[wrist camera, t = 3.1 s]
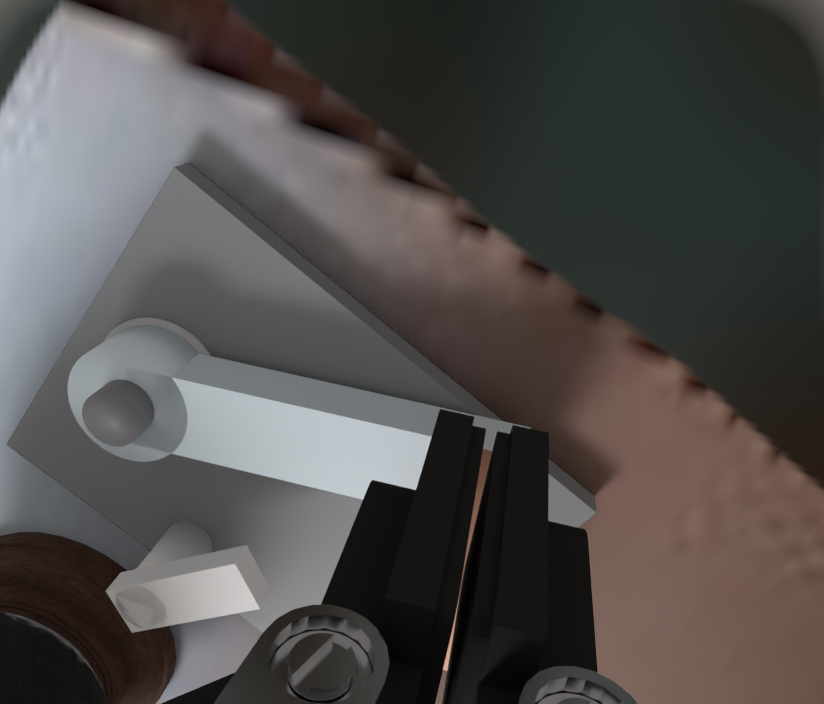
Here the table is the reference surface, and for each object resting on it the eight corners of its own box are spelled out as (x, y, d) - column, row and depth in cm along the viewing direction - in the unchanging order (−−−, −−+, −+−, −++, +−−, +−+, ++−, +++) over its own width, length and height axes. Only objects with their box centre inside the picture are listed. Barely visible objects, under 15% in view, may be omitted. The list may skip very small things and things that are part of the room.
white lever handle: (103, 419, 27) (-63, 555, 19) (99, 313, 25) (-87, 420, 18) (508, 515, 25) (490, 703, 18) (535, 409, 23) (527, 571, 16)
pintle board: (23, 432, 29) (-69, 498, 25) (189, 163, 23) (106, 188, 19) (363, 684, 32) (333, 784, 27) (594, 496, 26) (603, 586, 21)
